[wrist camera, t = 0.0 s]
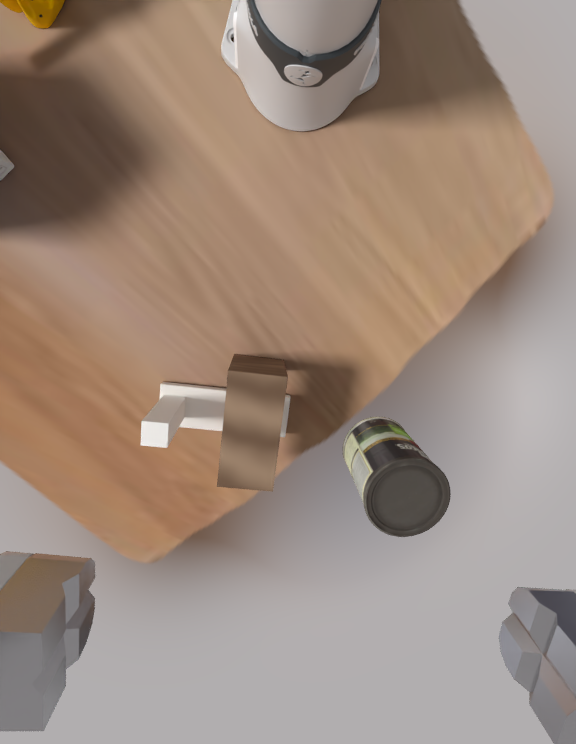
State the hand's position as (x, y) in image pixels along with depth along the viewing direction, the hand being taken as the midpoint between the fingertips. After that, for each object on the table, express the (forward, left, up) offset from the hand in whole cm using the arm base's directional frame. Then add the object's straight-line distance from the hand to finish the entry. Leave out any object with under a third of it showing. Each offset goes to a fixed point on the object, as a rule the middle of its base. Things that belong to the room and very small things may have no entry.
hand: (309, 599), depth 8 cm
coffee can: (+17, +18, -48) cm, 54 cm away
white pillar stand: (+13, -5, -48) cm, 50 cm away
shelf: (+13, -1, -48) cm, 50 cm away
